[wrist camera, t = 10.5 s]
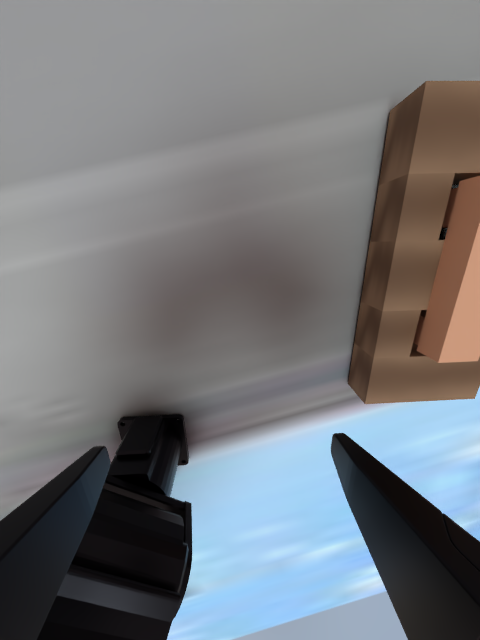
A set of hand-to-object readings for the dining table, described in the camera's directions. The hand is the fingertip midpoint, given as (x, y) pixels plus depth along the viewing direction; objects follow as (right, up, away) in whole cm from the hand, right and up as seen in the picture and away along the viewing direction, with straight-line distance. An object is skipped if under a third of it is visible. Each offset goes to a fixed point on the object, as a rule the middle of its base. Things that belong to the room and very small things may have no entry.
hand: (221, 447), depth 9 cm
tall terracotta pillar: (+16, +9, +10) cm, 21 cm away
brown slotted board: (+16, +9, +10) cm, 21 cm away
